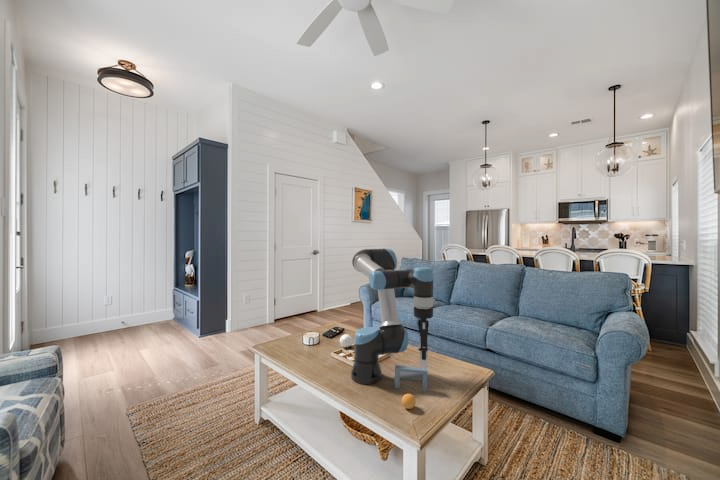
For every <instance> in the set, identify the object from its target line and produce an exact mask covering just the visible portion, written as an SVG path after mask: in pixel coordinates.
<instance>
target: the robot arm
mask: <svg viewBox="0 0 720 480" xmlns="http://www.w3.org/2000/svg"><path fill="white" fill-rule="evenodd" d="M351 262H352V267H353V268H354V270H356V272H359V273H362V274H363V275H364V276H366V277H367V278H368V279H369V280H368V281H369V285H370V288H371V289H372V290H377V294H378V303H379V308H380V309H379V311H380V318H381V324H380V325H379V329H378V327H375V326H365V327H361V328H358V330H356V331H355V334H354V341H353V343H354V362H353V364H352V367H351V371H350V378H351V380H352V381H354V382H355V383H357V384H361V385H373V384H376V383H378V382H380V381H381V380H382V379H383V371H382V369H381V368H382V367H381V365H380V363H379V356H381V355H391V354H398V353H403V352H405V351H406V350H407V348H408V347H409V333H408V330H407V329H406V327H403V324H402V322H400V320H399V314H398V309H397V308H398V307H397V301H396V295H395V294H396V293H395V289H407V288H409V289H410V288H411V289H413V306H414V307H413V316H414V317H415V318H417V319H418V321H417V323H418V324H417V325H418V333H419V348H418V351H419V367H420V368H428V351H429V349H428V336H429V335H428V334H429V326H430V325H429V320H428V319H432V318H433V317H434V308H433V306H434V302H435V298H434V269H433V268H431V267H427V266H417V267H414V269H413V268H404V269H401V270H400V269H398V270H396V269H397V267H398V258H397V255H396V253H395V252H394V251H393V250H392V249H390V248H365V249H361V250H359V251H357V252H356V253H355V254H354V255H353V257H352V261H351Z"/></svg>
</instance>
